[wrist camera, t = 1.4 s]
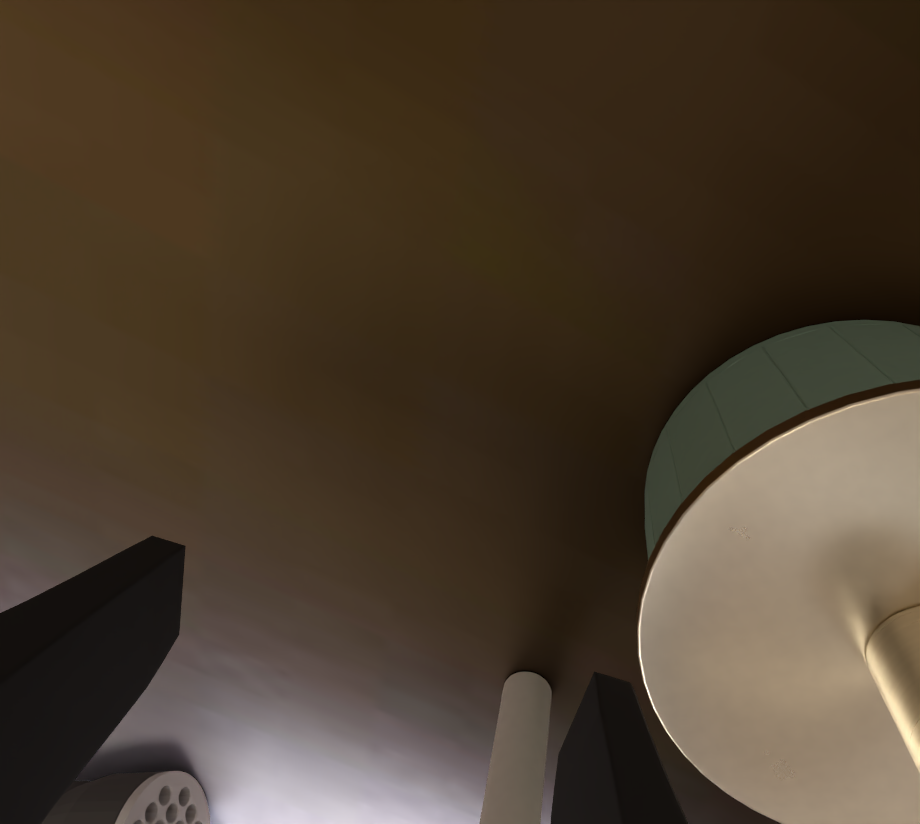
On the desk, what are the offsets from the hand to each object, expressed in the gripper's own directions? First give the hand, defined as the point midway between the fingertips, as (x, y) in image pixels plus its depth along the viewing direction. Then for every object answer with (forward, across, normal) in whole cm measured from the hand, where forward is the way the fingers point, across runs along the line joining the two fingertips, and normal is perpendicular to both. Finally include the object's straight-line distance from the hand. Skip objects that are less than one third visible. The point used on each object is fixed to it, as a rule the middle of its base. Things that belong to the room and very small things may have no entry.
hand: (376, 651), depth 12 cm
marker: (+10, -4, +10) cm, 15 cm away
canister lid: (+4, -11, -1) cm, 12 cm away
